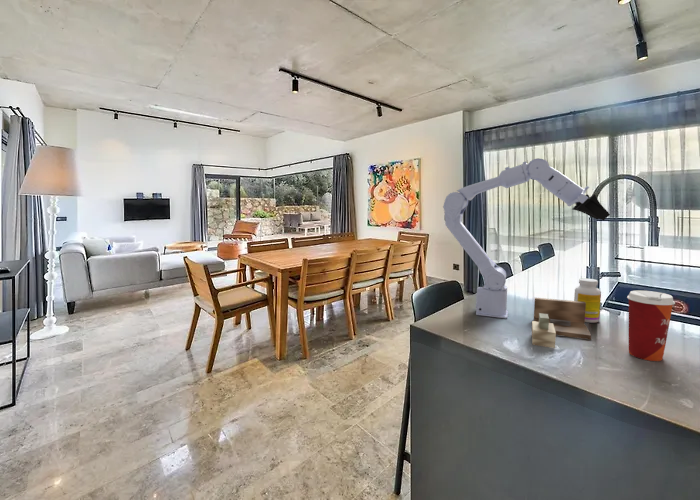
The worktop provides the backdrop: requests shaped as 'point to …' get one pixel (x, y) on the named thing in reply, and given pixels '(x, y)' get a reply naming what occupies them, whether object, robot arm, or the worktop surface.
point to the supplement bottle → (589, 298)
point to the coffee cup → (649, 323)
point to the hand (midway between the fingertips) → (603, 217)
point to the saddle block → (543, 332)
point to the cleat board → (572, 330)
